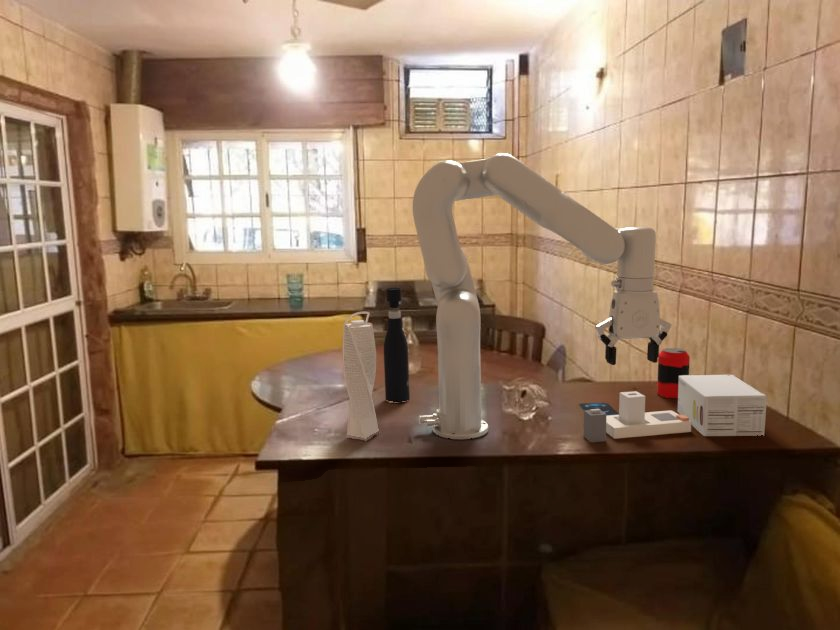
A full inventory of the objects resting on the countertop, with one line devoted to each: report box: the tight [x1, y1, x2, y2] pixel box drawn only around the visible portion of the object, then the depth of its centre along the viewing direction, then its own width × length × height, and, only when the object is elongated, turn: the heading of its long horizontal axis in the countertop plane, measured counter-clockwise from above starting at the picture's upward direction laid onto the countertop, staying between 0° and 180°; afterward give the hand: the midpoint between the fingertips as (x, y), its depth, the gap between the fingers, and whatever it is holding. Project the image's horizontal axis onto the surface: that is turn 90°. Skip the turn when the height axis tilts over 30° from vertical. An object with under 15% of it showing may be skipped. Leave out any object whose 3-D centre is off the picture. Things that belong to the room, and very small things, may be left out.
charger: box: [618, 390, 646, 425], centre depth 142 cm, size 4×4×8 cm
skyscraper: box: [341, 311, 380, 439], centre depth 142 cm, size 8×8×28 cm
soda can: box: [656, 347, 691, 399], centre depth 167 cm, size 8×8×12 cm
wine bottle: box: [383, 287, 411, 402], centre depth 168 cm, size 6×6×30 cm
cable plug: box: [583, 409, 607, 443], centre depth 138 cm, size 4×4×7 cm
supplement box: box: [677, 374, 768, 437], centre depth 145 cm, size 17×13×9 cm
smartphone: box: [578, 402, 619, 416], centre depth 155 cm, size 8×1×15 cm
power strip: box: [606, 410, 692, 440], centre depth 143 cm, size 18×8×3 cm, turn 99°
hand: (631, 362), depth 140 cm, fingers open, 9 cm apart
